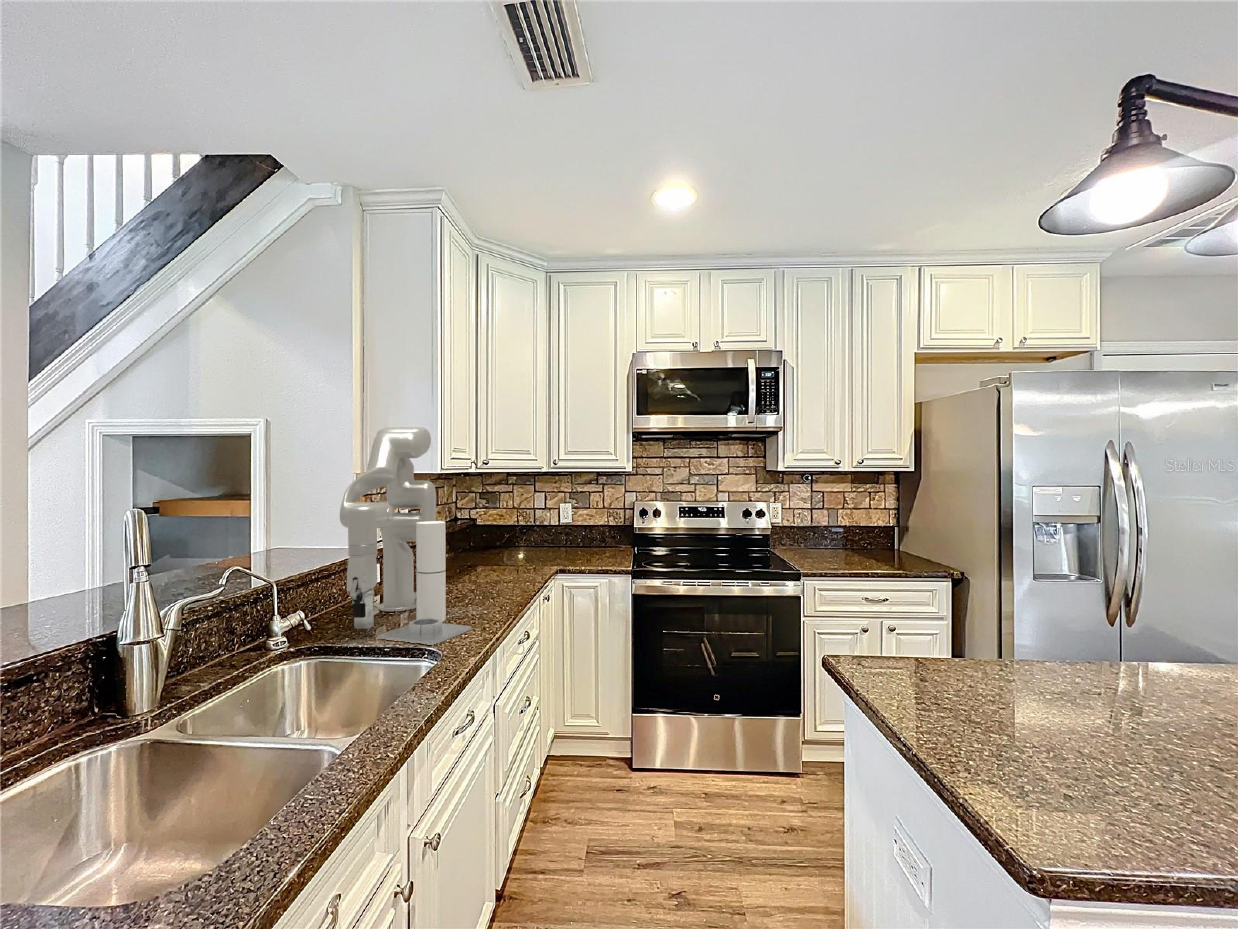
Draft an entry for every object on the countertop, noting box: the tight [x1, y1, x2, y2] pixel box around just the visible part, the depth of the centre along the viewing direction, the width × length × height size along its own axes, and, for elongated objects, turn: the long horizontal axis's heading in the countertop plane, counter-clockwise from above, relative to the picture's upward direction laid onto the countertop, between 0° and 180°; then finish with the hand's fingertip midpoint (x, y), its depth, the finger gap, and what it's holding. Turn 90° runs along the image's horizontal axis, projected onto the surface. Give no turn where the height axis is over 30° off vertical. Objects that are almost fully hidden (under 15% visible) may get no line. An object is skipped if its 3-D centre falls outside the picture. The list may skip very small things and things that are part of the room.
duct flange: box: [376, 618, 472, 646], centre depth 180 cm, size 18×18×4 cm
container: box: [415, 520, 447, 623], centre depth 197 cm, size 9×9×30 cm
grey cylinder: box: [353, 589, 375, 630], centre depth 179 cm, size 5×5×10 cm
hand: (363, 613), depth 179 cm, fingers closed on grey cylinder, 5 cm apart
